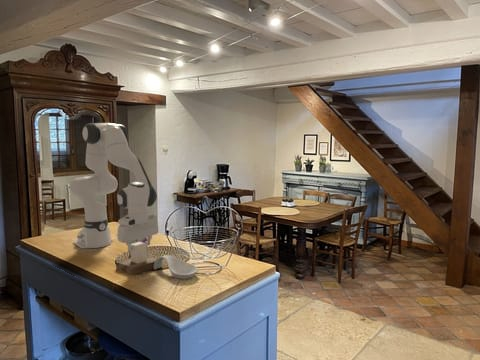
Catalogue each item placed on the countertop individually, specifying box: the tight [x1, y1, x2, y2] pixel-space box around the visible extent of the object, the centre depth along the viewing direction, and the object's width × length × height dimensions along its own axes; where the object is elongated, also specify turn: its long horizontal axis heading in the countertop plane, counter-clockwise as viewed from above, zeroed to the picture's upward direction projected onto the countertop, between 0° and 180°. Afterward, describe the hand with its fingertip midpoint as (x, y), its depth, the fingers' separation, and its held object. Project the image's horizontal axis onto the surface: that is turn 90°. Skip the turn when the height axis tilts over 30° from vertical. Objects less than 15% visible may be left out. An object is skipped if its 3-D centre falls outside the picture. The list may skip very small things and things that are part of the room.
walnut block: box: [115, 255, 158, 277], centre depth 165 cm, size 14×14×4 cm
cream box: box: [130, 242, 148, 263], centre depth 164 cm, size 5×5×8 cm
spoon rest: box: [153, 254, 199, 280], centre depth 158 cm, size 24×12×7 cm, turn 54°
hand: (139, 247), depth 164 cm, fingers open, 8 cm apart
